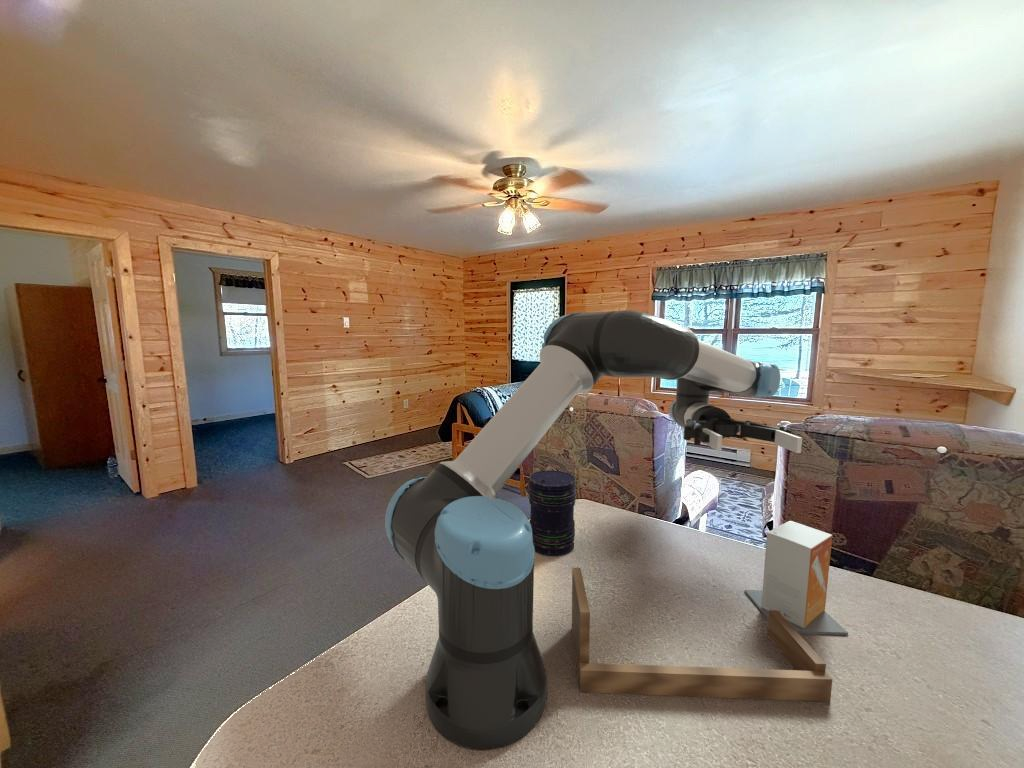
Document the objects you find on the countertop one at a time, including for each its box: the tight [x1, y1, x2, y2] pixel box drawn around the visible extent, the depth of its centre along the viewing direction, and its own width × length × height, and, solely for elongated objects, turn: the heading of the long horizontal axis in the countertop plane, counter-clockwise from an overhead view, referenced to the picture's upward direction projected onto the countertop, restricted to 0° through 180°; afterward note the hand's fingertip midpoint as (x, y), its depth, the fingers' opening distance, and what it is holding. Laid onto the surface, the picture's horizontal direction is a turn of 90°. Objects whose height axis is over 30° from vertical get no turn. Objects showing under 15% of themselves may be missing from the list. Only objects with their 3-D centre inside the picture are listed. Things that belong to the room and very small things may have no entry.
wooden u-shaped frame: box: [571, 567, 833, 703], centre depth 55 cm, size 30×11×10 cm, turn 87°
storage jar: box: [528, 469, 577, 558], centre depth 87 cm, size 10×10×15 cm
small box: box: [761, 520, 833, 628], centre depth 65 cm, size 8×6×13 cm
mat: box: [744, 589, 849, 636], centre depth 66 cm, size 10×10×1 cm
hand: (759, 444), depth 71 cm, fingers open, 13 cm apart
